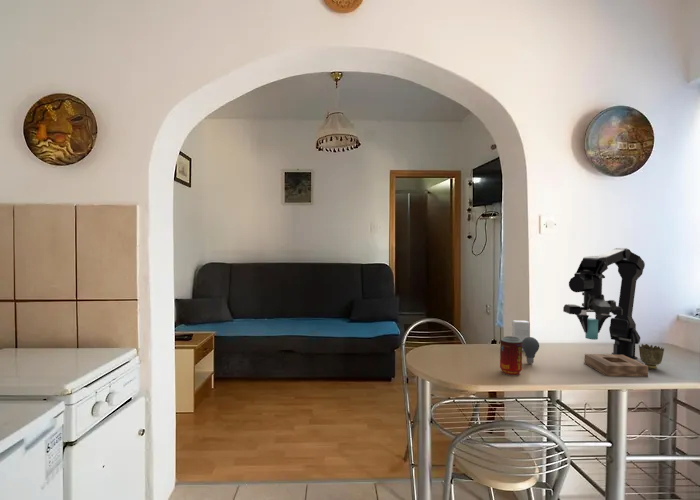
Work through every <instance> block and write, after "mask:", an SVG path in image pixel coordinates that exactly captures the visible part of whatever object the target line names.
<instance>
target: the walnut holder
mask: <svg viewBox="0 0 700 500" xmlns="http://www.w3.org/2000/svg"><path fill="white" fill-rule="evenodd" d="M584 364H585V365H586V366H588V367H590V368H592V369H594V370H596V371H597V372H599V373H601V374H602V375H604V376H606V377H647V378H648V377H649V369H648V366H647V365H645V363H643V362H641V361H640V362H639V361H638V360H636V359H632V358H629V357H627V356H624V355H613V354H612V353H611V354H608V353H606V354H604V353H603V354H602V353H597V354H596V353H585V354H584Z"/></svg>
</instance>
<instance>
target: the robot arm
mask: <svg viewBox="0 0 700 500" xmlns="http://www.w3.org/2000/svg"><path fill="white" fill-rule="evenodd" d="M613 264H615V265H616V266H617V271H618V274H619V276H620V278H621V281H620V289H619V291H620V292H619V298H618V304H617V301H615V299H609V300H605V295H604V294H602V293H603V279H605V278H606V276H605V275H604V274H603V273H604V272H605V271H607V270H608V269H609V268H608V267H609V266H611V265H613ZM645 265H646V264H645V261H644V260H643V259H642V257H641V256H640V255H638V254H637V253H634V252H632V251H631V250H630V249H629V248H628V247H627V248H626V247H616V248H614V249H612V250H609V251H607V252H605V253H602V254H599V255H590V256H584V257H583V258H582V260H581V261H580V263H579V266H578V268H577V270H576V271H575V273H574V276H572V277H571V278H570V279H569V281H568V287H569V289H570V291H572V292H573V293H581V295H582V296H583V302H582V303H581V306H580V305H577V304H570V303H569V304H564V306H563V310H562V311H563V313H566V314H569V315H575V316H576V317H577V319H578V321H579V323H580V326H581V328H582V329H583V332H584V333H587V319H588V318H589V316H590V315H588V314H587V313H595V315H594V317H595V319H597V320H598V334H599V333H600V332H601V330H602V327H603V325H604V323H605V322H606V320H607V319H609V318H610V321H609V322H610V323H609V324H610V325H609V328H608V329H609V337H610V340H613V341H614V343H613V347H612V348H613V350H612V351H613V352H611V354H612V355H624V356H627V357H629V358H631V359H633V360H637V359H638V356H636V345H640V344H639V343H640V342H641V336H640V334H639V333H638V330H637V324H636V322H635V320H634V319H633V311H634V301H635V294H636V286H637V281H638V279H639V278H640V277H641V276H642V275H643V272H644V269H645ZM610 313H611V314H612V315H614V317H612V315H611V314H610Z"/></svg>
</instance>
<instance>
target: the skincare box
mask: <svg viewBox="0 0 700 500" xmlns="http://www.w3.org/2000/svg"><path fill="white" fill-rule="evenodd" d="M530 323H531V322H530V321H528V320H518V319H516V320H514V319H512V321H511V331H512V332H511V336H513V337H517V338H520V339H521V340H522V341H523V340H524V339H525V338H527V337H531V335H530V331H531V330H530V325H531V324H530ZM522 352H524V350H523V348H522Z"/></svg>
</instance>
